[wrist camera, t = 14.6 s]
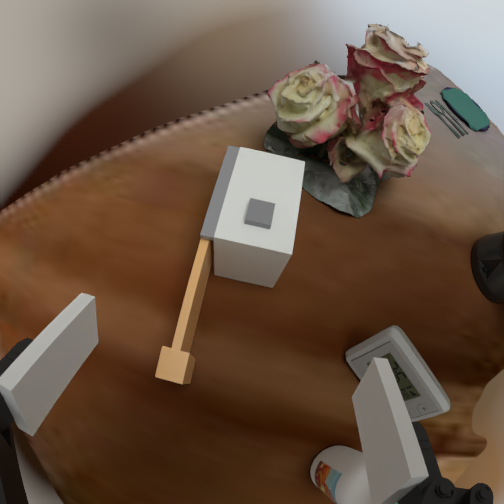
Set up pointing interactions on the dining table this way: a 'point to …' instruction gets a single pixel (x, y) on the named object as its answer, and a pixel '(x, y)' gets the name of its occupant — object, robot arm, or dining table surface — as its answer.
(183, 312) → the tan long-handled part
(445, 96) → the cutlery set
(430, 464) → the robot arm
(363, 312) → the dining table surface
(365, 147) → the rose bouquet
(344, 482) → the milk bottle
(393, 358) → the digital clock
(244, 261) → the box
